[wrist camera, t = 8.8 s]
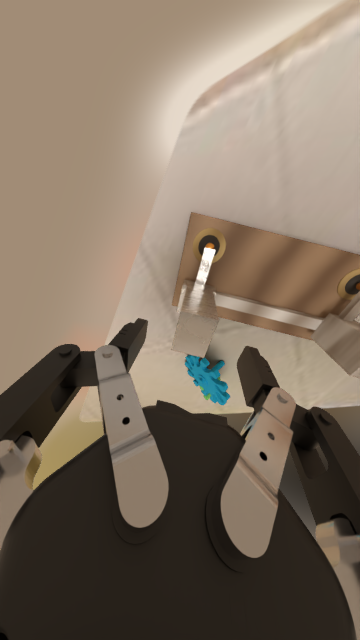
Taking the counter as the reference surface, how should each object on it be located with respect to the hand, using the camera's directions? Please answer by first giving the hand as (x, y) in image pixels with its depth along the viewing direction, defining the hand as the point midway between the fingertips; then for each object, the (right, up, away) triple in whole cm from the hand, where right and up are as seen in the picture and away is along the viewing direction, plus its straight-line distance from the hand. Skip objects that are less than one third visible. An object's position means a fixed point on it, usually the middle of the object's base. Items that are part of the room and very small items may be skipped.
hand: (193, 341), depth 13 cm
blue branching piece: (+4, -7, +19) cm, 21 cm away
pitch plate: (+11, +7, +10) cm, 16 cm away
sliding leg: (+2, +7, +8) cm, 11 cm away
